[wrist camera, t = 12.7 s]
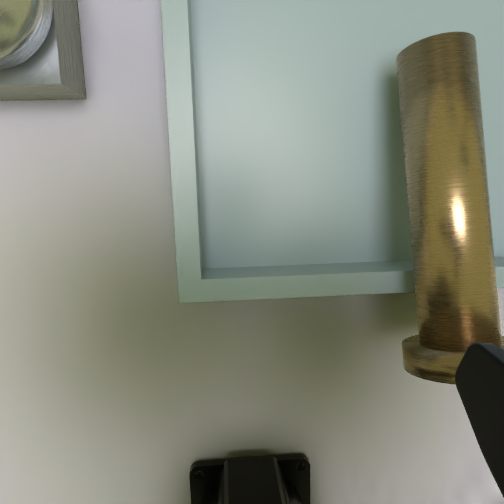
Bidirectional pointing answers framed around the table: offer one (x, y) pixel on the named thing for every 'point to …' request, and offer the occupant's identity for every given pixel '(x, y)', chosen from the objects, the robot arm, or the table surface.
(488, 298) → the pin
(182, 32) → the tray
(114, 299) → the table surface
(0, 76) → the bracket
